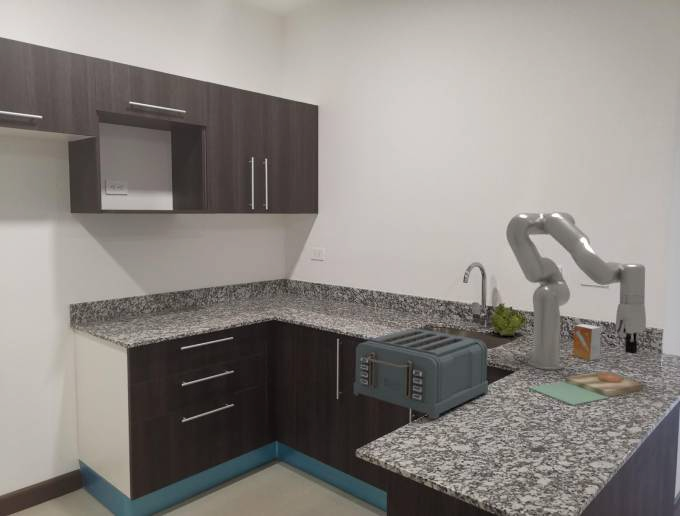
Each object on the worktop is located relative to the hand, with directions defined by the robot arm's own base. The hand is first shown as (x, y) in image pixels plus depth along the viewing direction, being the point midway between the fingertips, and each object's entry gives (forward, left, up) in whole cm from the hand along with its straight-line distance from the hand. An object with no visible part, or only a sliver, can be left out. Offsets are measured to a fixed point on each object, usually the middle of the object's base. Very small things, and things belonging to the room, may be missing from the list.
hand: (631, 352), depth 188 cm
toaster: (-20, -74, -11) cm, 78 cm away
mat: (-1, -29, -11) cm, 31 cm away
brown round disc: (-1, -9, -9) cm, 13 cm away
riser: (-1, -12, -11) cm, 16 cm away
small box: (-30, +15, -11) cm, 35 cm away
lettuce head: (-72, +13, -11) cm, 74 cm away
